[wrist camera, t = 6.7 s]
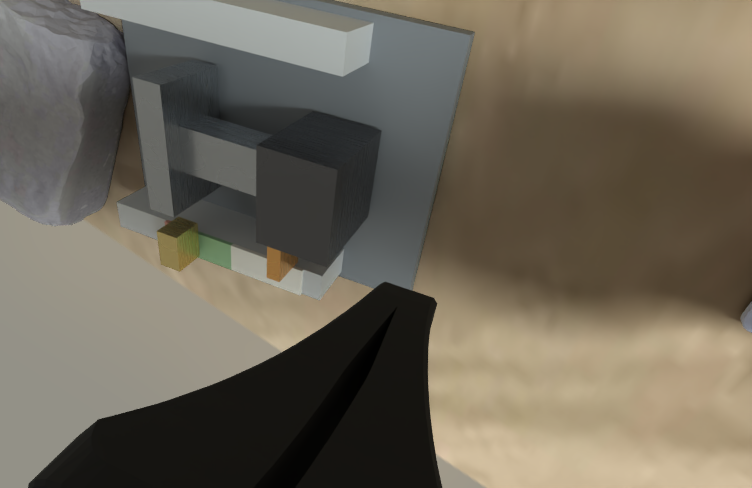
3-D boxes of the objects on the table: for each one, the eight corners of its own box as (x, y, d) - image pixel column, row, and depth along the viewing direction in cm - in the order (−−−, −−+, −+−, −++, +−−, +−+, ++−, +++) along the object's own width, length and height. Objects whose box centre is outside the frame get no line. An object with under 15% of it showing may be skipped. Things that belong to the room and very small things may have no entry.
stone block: (15, 120, 31) (115, 224, 29) (-79, 131, 27) (31, 252, 26) (29, -74, 24) (161, 49, 23) (-93, -95, 20) (56, 51, 19)
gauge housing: (474, 32, 17) (453, 48, 15) (412, 290, 24) (389, 334, 21) (127, -46, 20) (57, -45, 18) (158, 201, 27) (111, 229, 24)
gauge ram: (384, 110, 19) (339, 147, 15) (362, 253, 22) (322, 307, 19) (194, 59, 20) (117, 81, 17) (203, 199, 24) (141, 239, 21)
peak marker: (197, 223, 22) (176, 238, 21) (199, 255, 23) (179, 271, 22) (178, 216, 22) (156, 231, 21) (181, 248, 23) (160, 264, 22)
